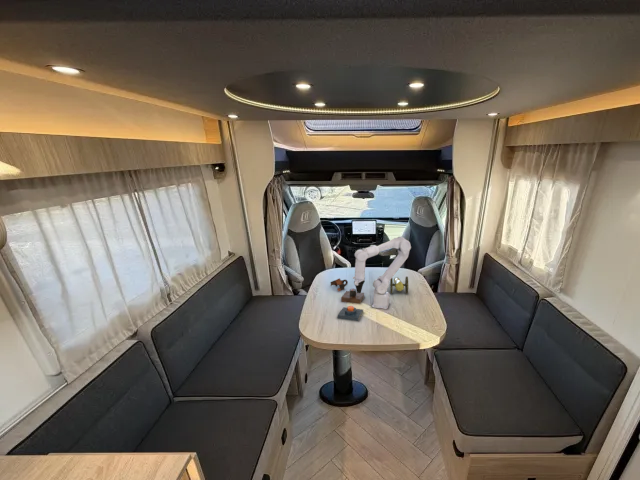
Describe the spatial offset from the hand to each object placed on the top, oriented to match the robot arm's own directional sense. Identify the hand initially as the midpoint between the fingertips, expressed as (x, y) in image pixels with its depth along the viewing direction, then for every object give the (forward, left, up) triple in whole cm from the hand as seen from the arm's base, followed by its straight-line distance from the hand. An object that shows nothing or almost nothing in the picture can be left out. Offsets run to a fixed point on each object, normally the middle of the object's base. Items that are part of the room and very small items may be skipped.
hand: (358, 292), depth 181 cm
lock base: (+7, -10, -10) cm, 16 cm away
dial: (+7, -10, -7) cm, 14 cm away
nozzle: (+2, +11, -6) cm, 13 cm away
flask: (+2, +11, -10) cm, 15 cm away
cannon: (-18, -33, -10) cm, 39 cm away
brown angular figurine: (+21, -24, -10) cm, 33 cm away
